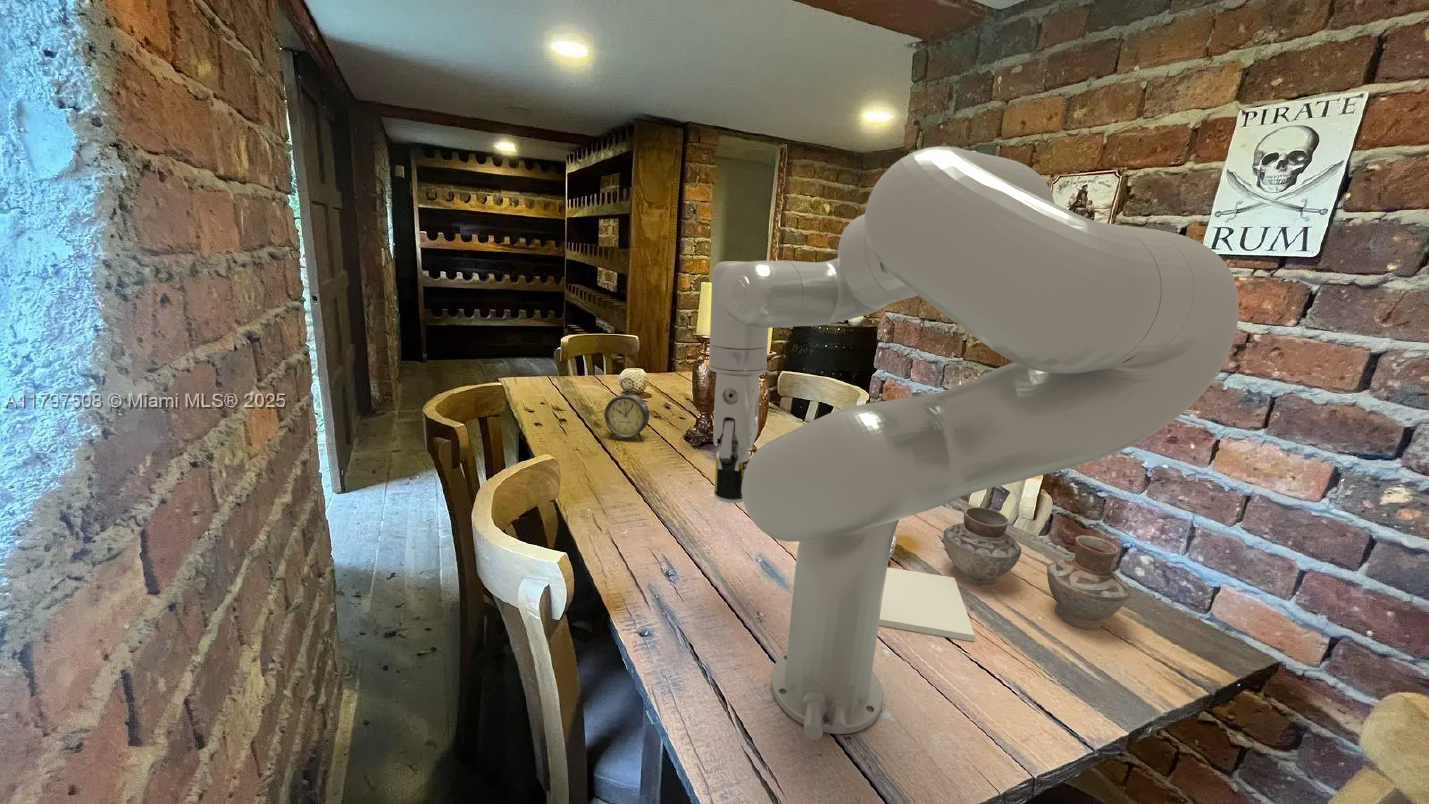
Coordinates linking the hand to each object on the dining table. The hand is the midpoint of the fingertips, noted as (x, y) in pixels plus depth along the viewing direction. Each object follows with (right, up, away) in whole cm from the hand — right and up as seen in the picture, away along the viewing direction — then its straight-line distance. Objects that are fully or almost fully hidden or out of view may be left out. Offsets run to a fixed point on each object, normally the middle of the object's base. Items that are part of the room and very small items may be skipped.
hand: (731, 487), depth 77 cm
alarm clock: (-25, +2, +69) cm, 73 cm away
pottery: (+44, -18, +8) cm, 49 cm away
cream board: (+27, -18, +5) cm, 32 cm away
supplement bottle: (0, -2, 0) cm, 2 cm away
